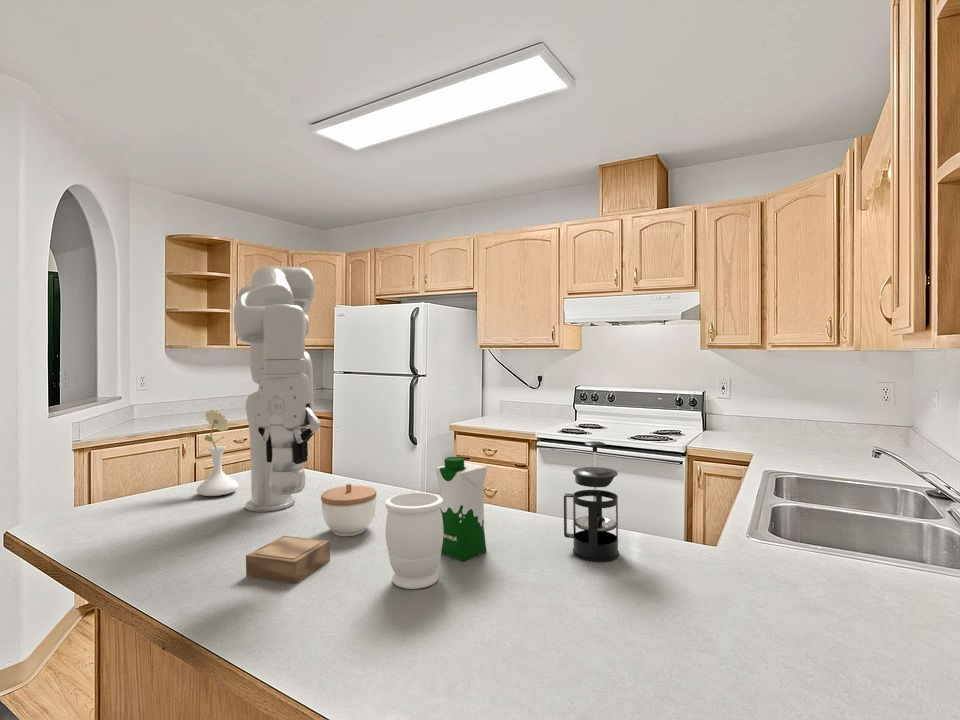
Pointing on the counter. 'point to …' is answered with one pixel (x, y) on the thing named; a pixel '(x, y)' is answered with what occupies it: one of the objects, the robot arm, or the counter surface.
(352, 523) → the lidded bowl
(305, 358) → the robot arm
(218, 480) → the flower in vase
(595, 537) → the french press
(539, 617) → the counter surface
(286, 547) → the base slab
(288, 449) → the plastic bottle
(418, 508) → the jar
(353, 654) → the counter surface
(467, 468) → the milk carton
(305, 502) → the counter surface
